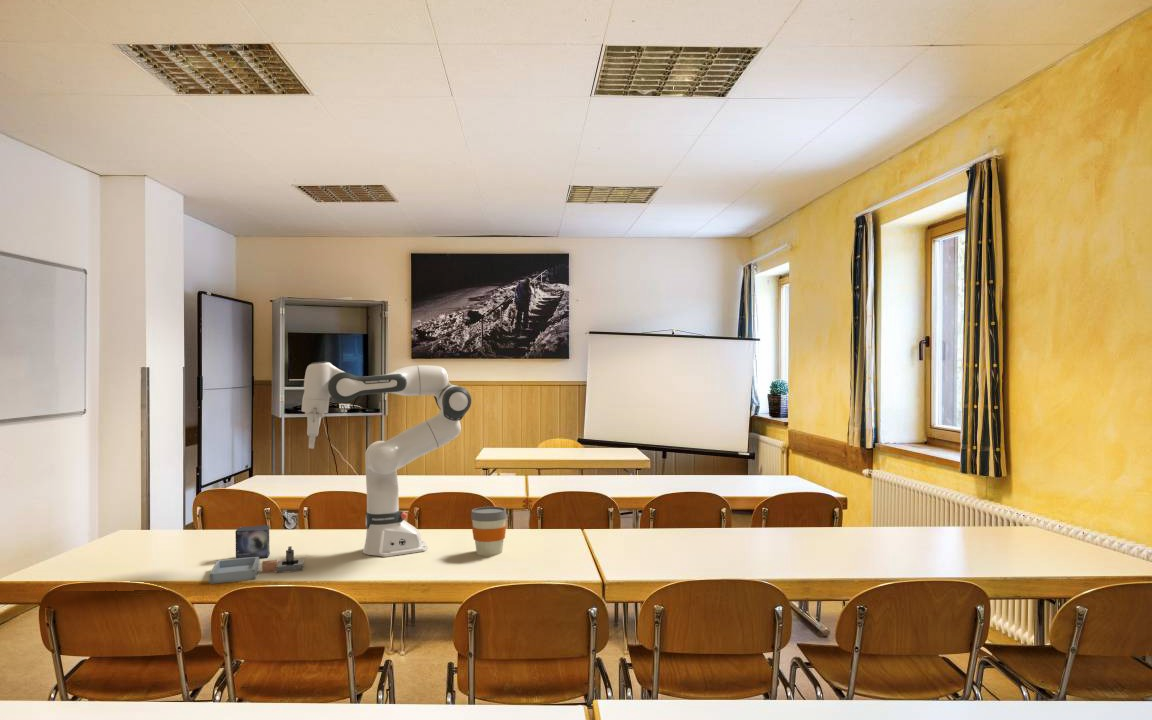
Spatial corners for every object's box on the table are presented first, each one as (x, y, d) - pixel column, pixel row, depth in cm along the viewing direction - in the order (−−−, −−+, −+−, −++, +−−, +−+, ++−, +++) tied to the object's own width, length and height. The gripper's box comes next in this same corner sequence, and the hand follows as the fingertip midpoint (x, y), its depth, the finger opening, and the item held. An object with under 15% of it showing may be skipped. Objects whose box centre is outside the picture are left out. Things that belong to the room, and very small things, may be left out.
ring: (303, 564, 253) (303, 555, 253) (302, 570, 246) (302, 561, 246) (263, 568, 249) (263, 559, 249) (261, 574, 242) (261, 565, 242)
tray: (259, 565, 253) (259, 556, 253) (255, 579, 237) (255, 569, 237) (217, 569, 249) (216, 560, 249) (209, 583, 232) (209, 574, 232)
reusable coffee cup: (501, 557, 257) (500, 513, 258) (466, 556, 260) (465, 513, 260) (511, 548, 270) (511, 506, 270) (478, 547, 272) (477, 506, 272)
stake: (294, 567, 250) (293, 546, 250) (293, 569, 247) (293, 548, 247) (286, 567, 249) (286, 546, 249) (286, 570, 246) (285, 548, 246)
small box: (235, 561, 259) (234, 530, 259) (238, 556, 266) (237, 526, 266) (267, 558, 262) (267, 528, 262) (270, 554, 268) (269, 524, 268)
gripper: (324, 409, 253) (320, 450, 253) (324, 406, 273) (321, 444, 272) (304, 408, 251) (301, 449, 251) (306, 405, 271) (302, 443, 270)
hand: (311, 446), depth 262 cm, fingers open, 8 cm apart
